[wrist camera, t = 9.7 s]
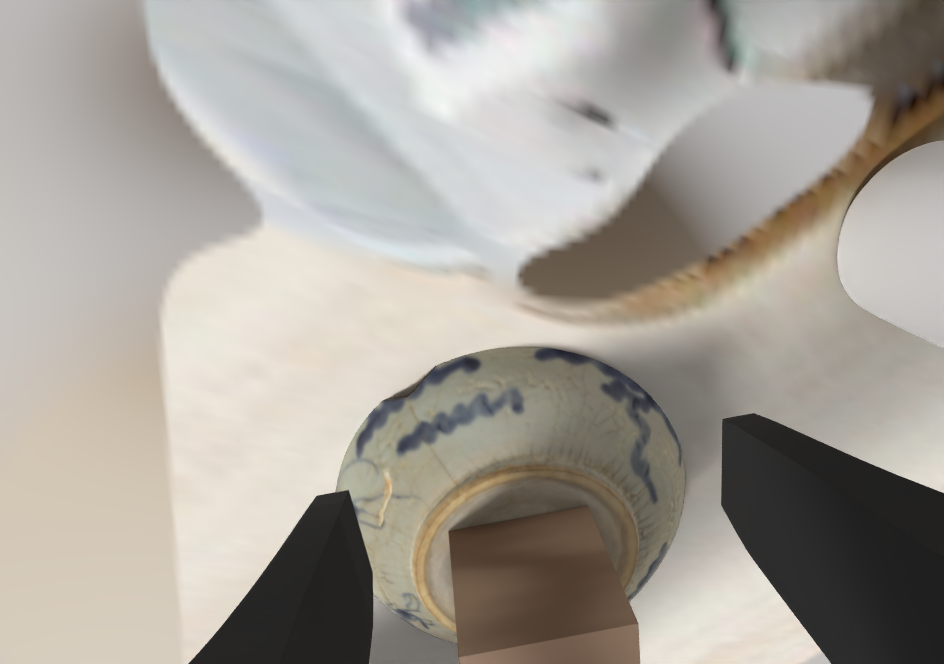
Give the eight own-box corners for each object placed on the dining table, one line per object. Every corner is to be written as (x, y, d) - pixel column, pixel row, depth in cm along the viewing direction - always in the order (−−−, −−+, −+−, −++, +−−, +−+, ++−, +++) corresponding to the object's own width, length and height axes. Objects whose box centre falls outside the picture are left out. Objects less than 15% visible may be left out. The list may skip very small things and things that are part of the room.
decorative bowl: (412, 278, 21) (281, 590, 25) (415, 313, 17) (262, 667, 22) (747, 408, 24) (582, 661, 29) (803, 458, 21) (606, 736, 25)
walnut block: (468, 633, 22) (483, 772, 18) (448, 531, 21) (458, 657, 16) (596, 609, 23) (643, 740, 18) (587, 505, 21) (638, 623, 16)
